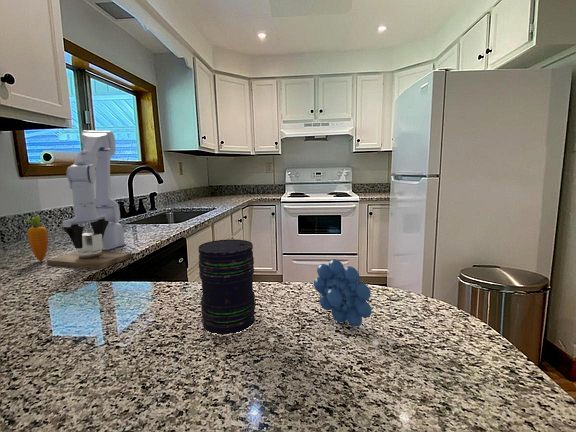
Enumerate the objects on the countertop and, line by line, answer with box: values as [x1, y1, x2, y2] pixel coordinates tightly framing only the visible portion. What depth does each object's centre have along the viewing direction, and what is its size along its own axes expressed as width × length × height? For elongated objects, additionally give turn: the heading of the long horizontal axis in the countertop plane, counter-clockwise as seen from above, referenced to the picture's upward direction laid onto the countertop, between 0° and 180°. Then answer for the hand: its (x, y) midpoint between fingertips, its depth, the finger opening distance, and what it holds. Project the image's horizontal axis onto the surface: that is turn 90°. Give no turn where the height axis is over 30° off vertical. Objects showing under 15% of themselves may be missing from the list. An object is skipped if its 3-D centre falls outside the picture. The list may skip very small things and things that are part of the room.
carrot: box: [25, 215, 49, 262], centre depth 97 cm, size 5×5×15 cm
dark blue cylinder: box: [198, 238, 256, 334], centre depth 55 cm, size 10×10×15 cm
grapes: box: [313, 258, 373, 327], centre depth 54 cm, size 12×7×12 cm, turn 53°
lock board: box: [46, 250, 133, 270], centre depth 97 cm, size 13×20×2 cm, turn 75°
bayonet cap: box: [75, 232, 103, 258], centre depth 96 cm, size 6×7×7 cm
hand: (89, 245), depth 96 cm, fingers open, 7 cm apart
